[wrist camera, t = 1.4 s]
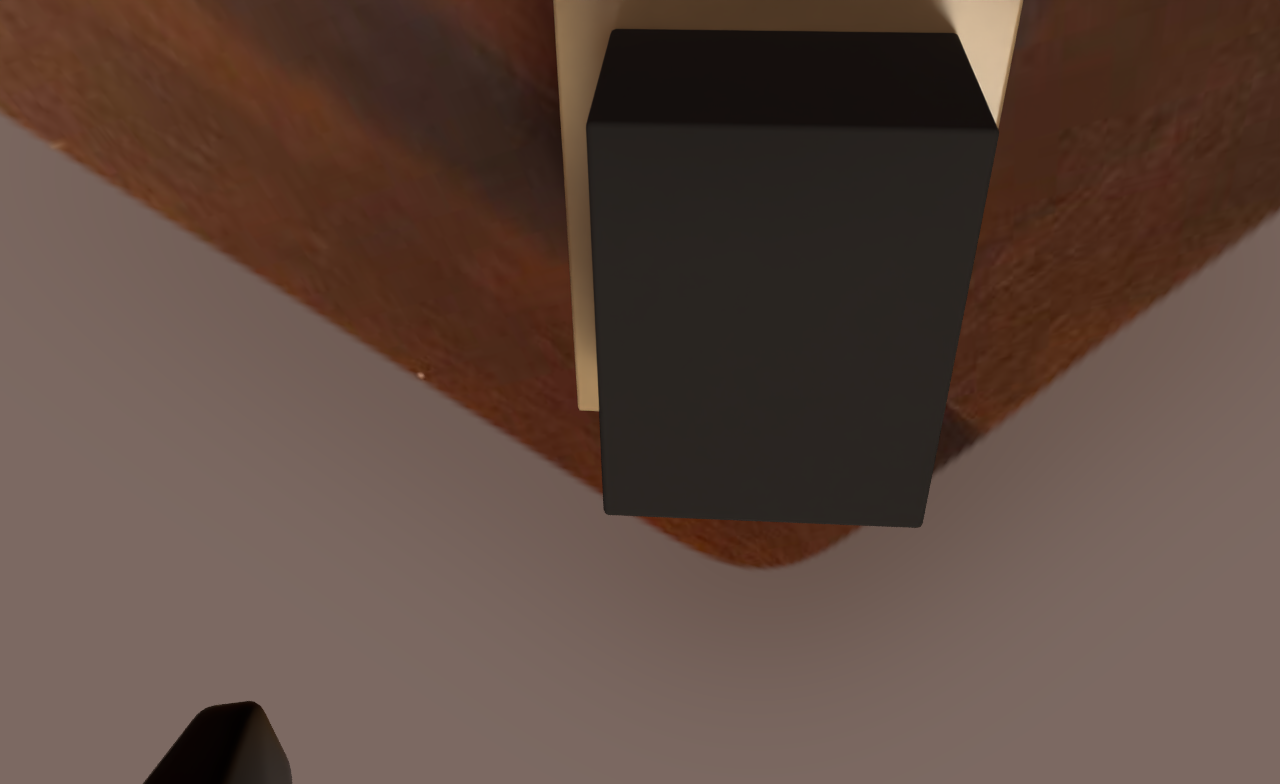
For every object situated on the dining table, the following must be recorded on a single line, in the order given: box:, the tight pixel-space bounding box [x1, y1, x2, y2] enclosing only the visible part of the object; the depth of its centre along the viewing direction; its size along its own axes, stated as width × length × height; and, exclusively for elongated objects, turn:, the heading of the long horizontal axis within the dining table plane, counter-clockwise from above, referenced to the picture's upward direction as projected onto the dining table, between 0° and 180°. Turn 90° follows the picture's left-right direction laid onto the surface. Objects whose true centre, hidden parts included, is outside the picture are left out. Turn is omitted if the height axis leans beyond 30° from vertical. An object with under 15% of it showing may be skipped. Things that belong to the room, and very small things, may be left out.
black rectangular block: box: [586, 29, 999, 528], centre depth 15 cm, size 6×4×3 cm
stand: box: [553, 0, 1023, 411], centre depth 19 cm, size 7×6×6 cm
